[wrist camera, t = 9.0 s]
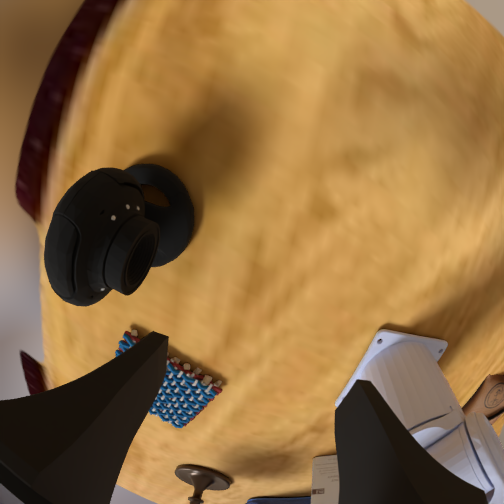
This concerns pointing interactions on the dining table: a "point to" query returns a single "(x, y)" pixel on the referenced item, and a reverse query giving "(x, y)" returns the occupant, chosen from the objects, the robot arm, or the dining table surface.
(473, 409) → the sunglasses case
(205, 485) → the candlestick
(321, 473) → the skincare box
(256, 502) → the lunch bag
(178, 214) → the webcam
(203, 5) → the dining table surface
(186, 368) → the woven mat
